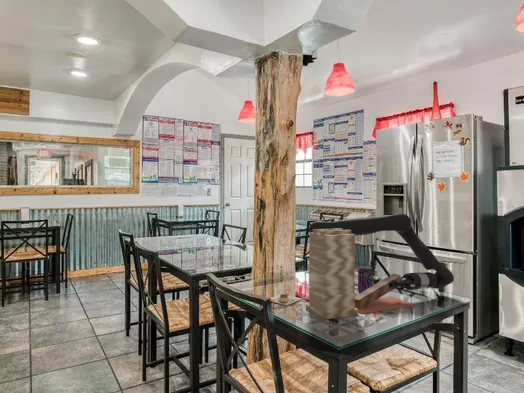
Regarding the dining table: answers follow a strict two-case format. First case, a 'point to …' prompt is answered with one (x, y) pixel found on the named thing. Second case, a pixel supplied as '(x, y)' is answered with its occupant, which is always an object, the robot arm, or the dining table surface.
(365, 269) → the beverage can
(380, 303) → the mat
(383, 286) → the block
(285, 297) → the dessert
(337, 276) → the pedestal
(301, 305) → the dining table surface
